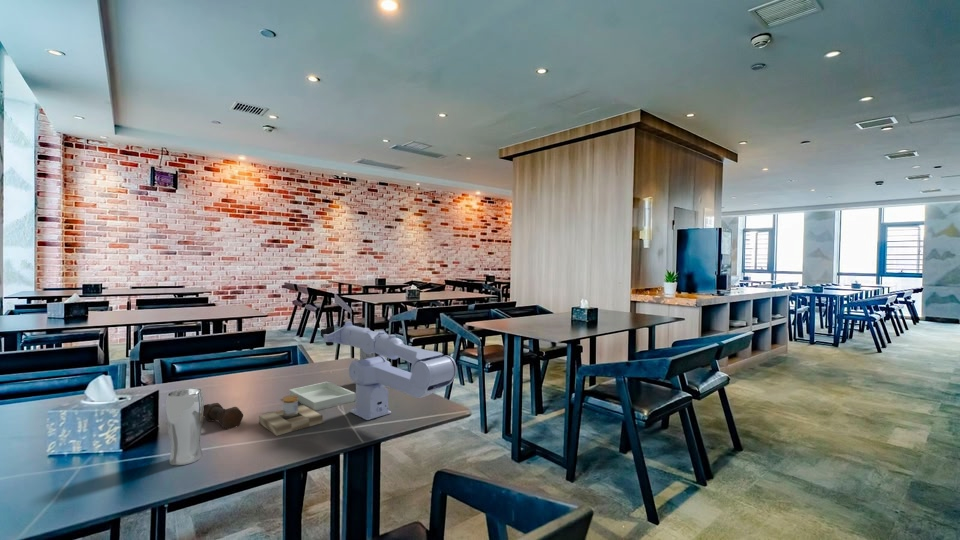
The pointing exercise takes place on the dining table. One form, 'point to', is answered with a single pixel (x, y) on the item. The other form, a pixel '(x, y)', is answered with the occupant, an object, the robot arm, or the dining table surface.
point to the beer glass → (185, 424)
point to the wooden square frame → (290, 420)
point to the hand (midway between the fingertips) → (333, 330)
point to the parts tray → (322, 395)
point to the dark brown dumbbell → (223, 415)
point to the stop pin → (290, 406)
